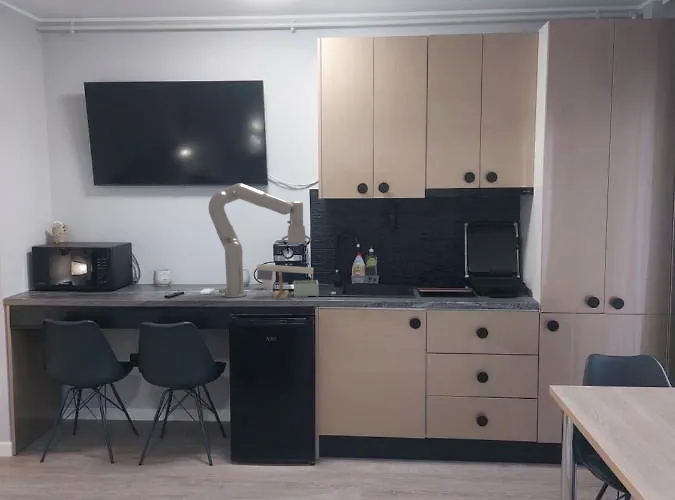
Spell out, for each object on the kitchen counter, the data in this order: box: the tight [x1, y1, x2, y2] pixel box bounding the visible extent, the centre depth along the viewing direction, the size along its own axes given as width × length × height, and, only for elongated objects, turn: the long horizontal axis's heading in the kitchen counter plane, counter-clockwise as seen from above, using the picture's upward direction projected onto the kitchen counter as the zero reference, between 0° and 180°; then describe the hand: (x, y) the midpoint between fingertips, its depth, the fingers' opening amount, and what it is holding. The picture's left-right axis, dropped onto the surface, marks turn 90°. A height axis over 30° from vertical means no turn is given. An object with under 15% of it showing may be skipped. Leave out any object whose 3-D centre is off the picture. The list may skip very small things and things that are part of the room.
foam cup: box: [261, 271, 277, 291], centre depth 363 cm, size 10×9×13 cm
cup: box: [293, 279, 320, 298], centre depth 340 cm, size 14×14×7 cm
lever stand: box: [273, 271, 289, 299], centre depth 339 cm, size 8×14×14 cm, turn 4°
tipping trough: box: [256, 263, 314, 281], centre depth 343 cm, size 31×17×8 cm, turn 94°
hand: (296, 252), depth 348 cm, fingers open, 9 cm apart
